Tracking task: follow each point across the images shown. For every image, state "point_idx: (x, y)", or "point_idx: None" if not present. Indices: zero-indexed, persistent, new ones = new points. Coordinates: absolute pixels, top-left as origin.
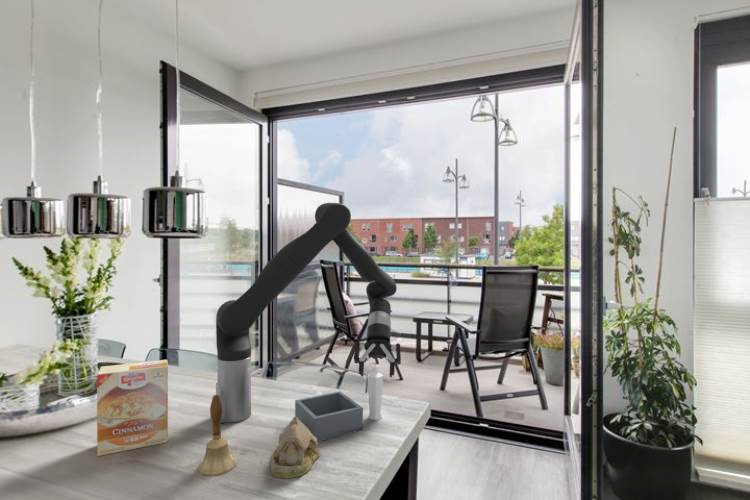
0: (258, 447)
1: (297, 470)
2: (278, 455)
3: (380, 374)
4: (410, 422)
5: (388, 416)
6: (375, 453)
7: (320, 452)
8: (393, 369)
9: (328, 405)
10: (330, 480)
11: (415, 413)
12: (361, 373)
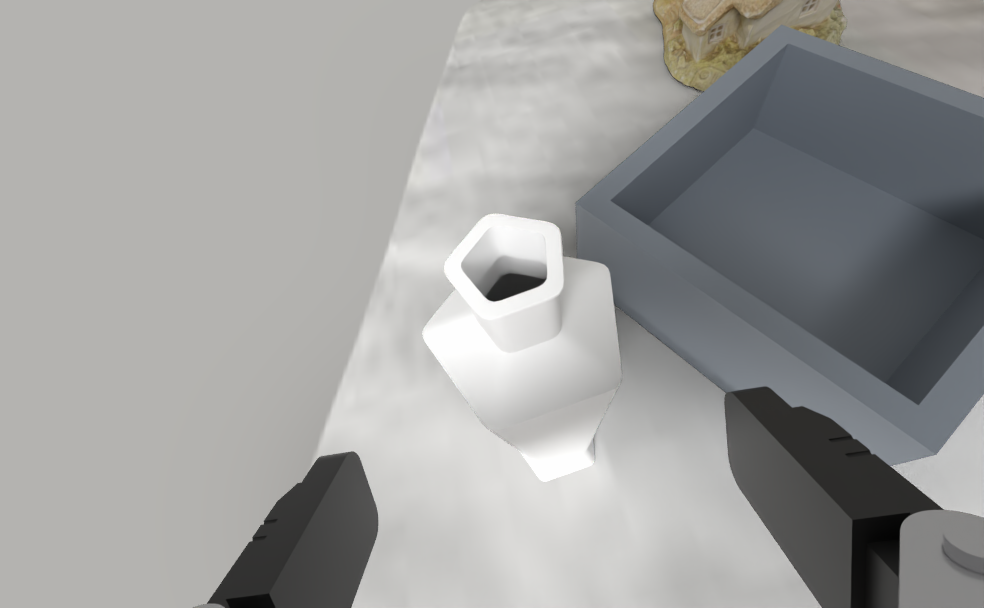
0: (946, 34)
1: None
2: None
3: (450, 314)
4: (345, 419)
5: (474, 471)
6: (477, 136)
7: (671, 74)
8: (273, 524)
9: (915, 368)
10: (572, 3)
11: None
12: (747, 391)
